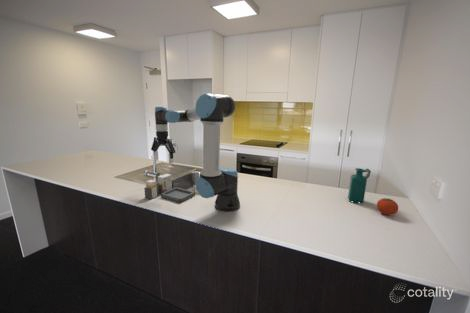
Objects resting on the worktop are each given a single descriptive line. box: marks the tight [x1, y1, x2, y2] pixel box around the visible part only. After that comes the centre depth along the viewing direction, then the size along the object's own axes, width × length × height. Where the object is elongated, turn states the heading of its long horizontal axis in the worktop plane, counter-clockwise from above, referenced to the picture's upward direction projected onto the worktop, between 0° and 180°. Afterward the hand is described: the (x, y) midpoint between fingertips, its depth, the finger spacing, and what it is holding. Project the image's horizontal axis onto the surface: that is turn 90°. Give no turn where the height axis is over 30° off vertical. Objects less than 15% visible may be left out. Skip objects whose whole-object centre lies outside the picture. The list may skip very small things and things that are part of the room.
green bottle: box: [347, 167, 372, 204], centre depth 140 cm, size 10×8×22 cm
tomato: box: [376, 197, 399, 216], centre depth 124 cm, size 10×10×10 cm
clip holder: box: [144, 179, 175, 200], centre depth 147 cm, size 5×21×11 cm, turn 151°
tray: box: [160, 186, 196, 204], centre depth 144 cm, size 17×14×3 cm
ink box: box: [157, 173, 173, 193], centre depth 151 cm, size 9×5×12 cm, turn 151°
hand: (163, 161), depth 148 cm, fingers open, 13 cm apart
